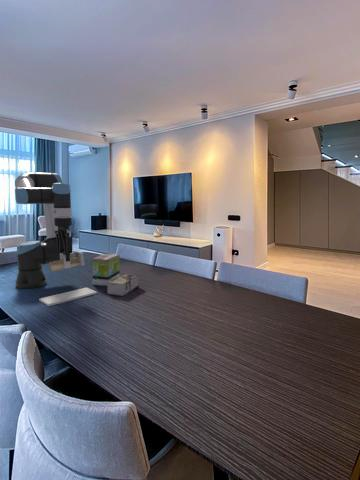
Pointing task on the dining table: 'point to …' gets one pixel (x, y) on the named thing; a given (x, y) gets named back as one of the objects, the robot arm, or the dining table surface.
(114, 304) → the dining table surface
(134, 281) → the coffee box
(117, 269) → the tea box
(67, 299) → the cutting board
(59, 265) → the scraper
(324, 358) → the dining table surface
